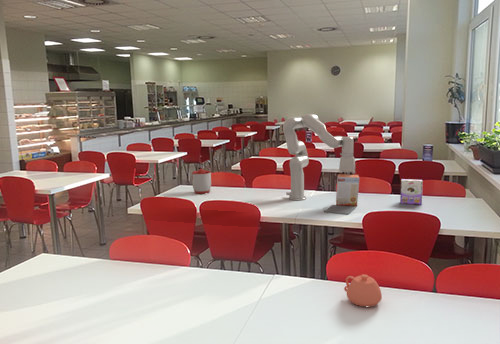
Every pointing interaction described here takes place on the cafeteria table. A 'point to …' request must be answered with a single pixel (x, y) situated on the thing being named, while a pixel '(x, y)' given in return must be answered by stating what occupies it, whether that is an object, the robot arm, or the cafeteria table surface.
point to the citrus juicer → (201, 181)
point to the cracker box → (347, 189)
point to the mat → (340, 209)
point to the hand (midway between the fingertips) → (347, 181)
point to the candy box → (411, 191)
